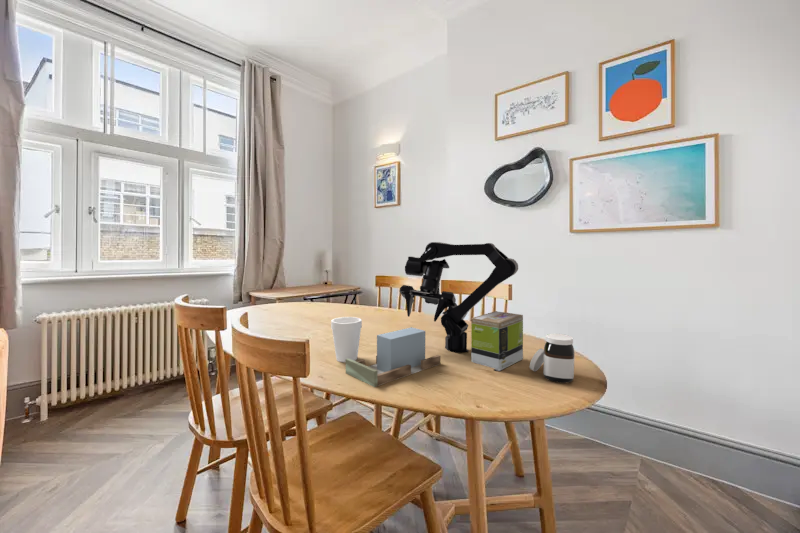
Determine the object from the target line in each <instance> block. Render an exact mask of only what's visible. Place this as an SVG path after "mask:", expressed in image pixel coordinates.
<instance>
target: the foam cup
mask: <svg viewBox="0 0 800 533" xmlns="http://www.w3.org/2000/svg"><path fill="white" fill-rule="evenodd" d="M362 320H363V319H361V318H360V317H356V316H340V317H335V318H333V319H331V320H330V328H331V330H332V331H331V332H332V338H333V345H334V346H333V347H334V350H335V351H334V352H335V359H336V361H337V362H339V363H346V359H348V358H349V359H351V360H354V361H357V359H358V355H359V347H360V339H361V338H360V337H361V332H362V331H361V330H362V326H363V321H362Z"/></svg>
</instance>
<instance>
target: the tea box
mask: <svg viewBox="0 0 800 533" xmlns="http://www.w3.org/2000/svg"><path fill="white" fill-rule="evenodd" d="M470 320H471V326H470V329H471V330H470V331H471V334H470V335H471V337H470V338H471V341H470V342H471V343H470V344H471V346H470V347H471V348H470V349H471V352H470V353H471V354H470V355H471V358H470V359H471V363H474V364H477V365H481V366H485V367H488V368H491V369H493V371H497V372H501V371H502V370H505V369H506V368H508V367H511V365H512V366H513V365H514V364H515V363H518V362H520V361H522V360H523V359H524V348H523V347H524V315H523V314H519V313H511V312H506V311H505V312H504V311H497V310H495V311H491V312H488V313H485V314H481V315H477V316H474V317H471V319H470Z"/></svg>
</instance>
